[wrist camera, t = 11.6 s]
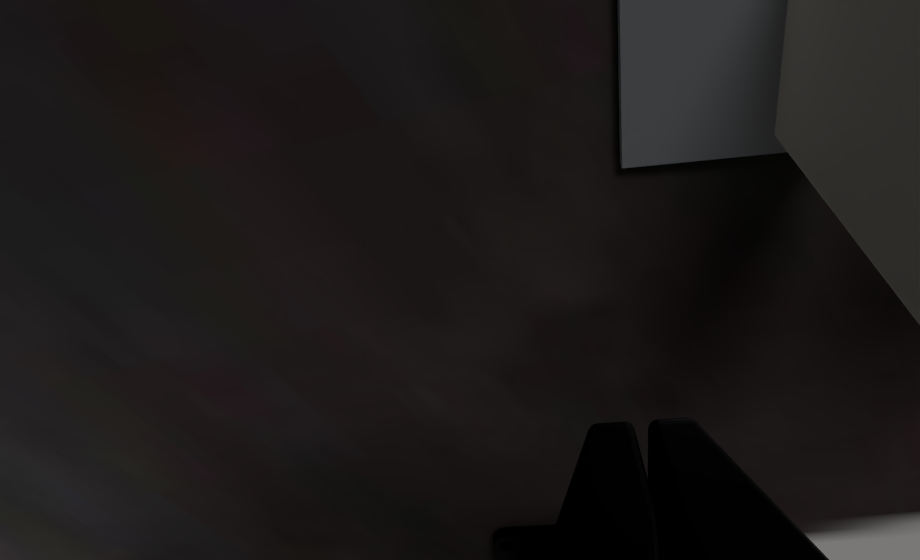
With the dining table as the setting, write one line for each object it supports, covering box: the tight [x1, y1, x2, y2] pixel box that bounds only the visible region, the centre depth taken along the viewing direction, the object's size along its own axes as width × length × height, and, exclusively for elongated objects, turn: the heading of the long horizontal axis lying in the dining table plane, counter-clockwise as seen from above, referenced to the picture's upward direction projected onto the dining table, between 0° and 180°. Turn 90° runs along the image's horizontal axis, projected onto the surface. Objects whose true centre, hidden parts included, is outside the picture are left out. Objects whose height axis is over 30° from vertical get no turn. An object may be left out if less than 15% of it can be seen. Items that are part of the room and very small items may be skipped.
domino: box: [774, 0, 920, 325], centre depth 14 cm, size 2×5×9 cm, turn 8°
